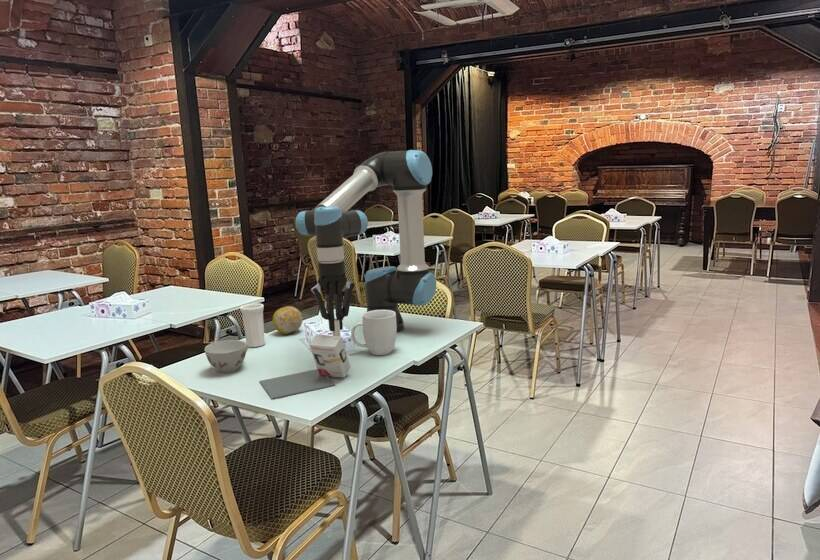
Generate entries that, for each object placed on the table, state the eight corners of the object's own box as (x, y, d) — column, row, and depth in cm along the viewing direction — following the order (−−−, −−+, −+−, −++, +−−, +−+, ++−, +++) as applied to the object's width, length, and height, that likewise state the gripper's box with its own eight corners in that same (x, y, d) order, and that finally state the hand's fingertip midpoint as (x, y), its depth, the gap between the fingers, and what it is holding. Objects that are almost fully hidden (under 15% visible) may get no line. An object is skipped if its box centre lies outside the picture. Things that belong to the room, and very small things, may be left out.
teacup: (226, 379, 172) (223, 354, 170) (198, 373, 179) (195, 348, 177) (263, 363, 185) (260, 339, 183) (235, 358, 191) (233, 335, 189)
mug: (351, 359, 185) (349, 319, 182) (353, 348, 196) (351, 311, 193) (398, 356, 185) (396, 317, 183) (397, 346, 196) (395, 308, 194)
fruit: (268, 334, 217) (266, 308, 215) (291, 327, 225) (289, 302, 223) (285, 339, 210) (283, 312, 208) (308, 331, 218) (306, 306, 216)
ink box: (318, 375, 171) (307, 345, 164) (326, 364, 174) (315, 334, 168) (345, 378, 167) (334, 347, 161) (352, 366, 171) (342, 335, 165)
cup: (250, 350, 199) (246, 310, 196) (240, 345, 205) (235, 306, 202) (271, 344, 204) (267, 305, 201) (261, 340, 210) (257, 302, 207)
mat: (318, 370, 177) (318, 368, 177) (335, 385, 163) (335, 384, 163) (259, 382, 169) (259, 380, 169) (271, 399, 156) (271, 398, 156)
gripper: (347, 257, 171) (352, 334, 175) (305, 262, 165) (311, 342, 169) (357, 260, 164) (362, 340, 168) (313, 265, 158) (319, 348, 163)
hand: (336, 341), depth 169 cm, fingers closed
